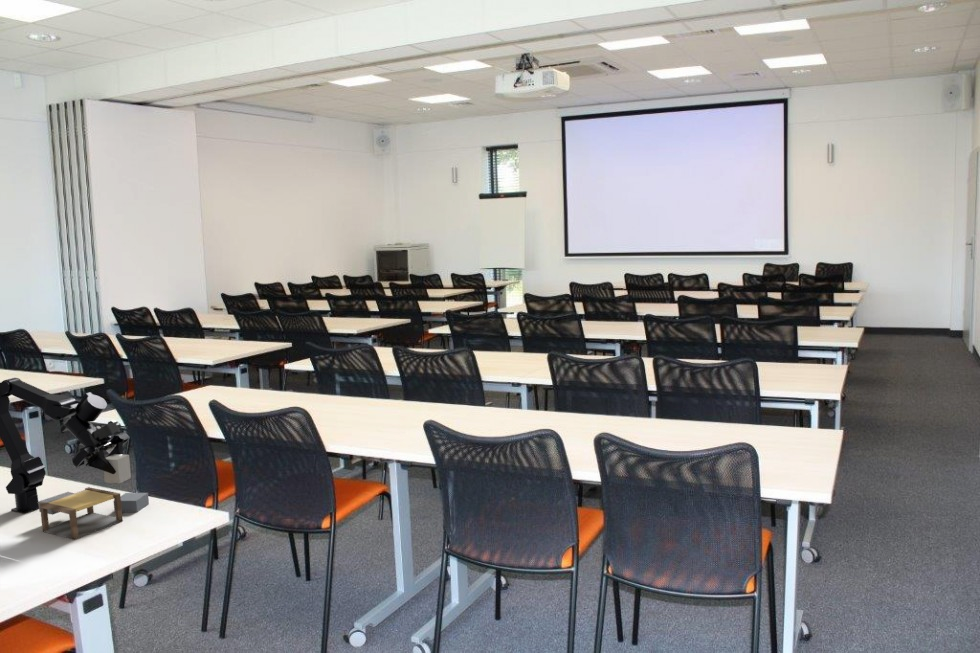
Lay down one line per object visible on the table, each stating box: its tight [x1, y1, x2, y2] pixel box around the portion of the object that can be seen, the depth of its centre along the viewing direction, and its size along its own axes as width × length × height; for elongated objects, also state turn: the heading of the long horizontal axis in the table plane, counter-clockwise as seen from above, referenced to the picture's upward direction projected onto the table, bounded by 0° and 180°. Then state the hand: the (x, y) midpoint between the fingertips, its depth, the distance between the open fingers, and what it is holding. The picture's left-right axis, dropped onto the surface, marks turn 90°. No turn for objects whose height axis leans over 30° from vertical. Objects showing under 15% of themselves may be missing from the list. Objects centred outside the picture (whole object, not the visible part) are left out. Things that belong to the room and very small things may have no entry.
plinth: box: [113, 492, 150, 513], centre depth 246 cm, size 7×7×4 cm
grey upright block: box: [103, 454, 132, 484], centre depth 240 cm, size 5×5×7 cm
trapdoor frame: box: [40, 486, 124, 540], centre depth 232 cm, size 14×15×8 cm
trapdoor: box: [38, 489, 114, 516], centre depth 233 cm, size 18×12×4 cm, turn 61°
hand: (121, 470), depth 239 cm, fingers closed on grey upright block, 5 cm apart
